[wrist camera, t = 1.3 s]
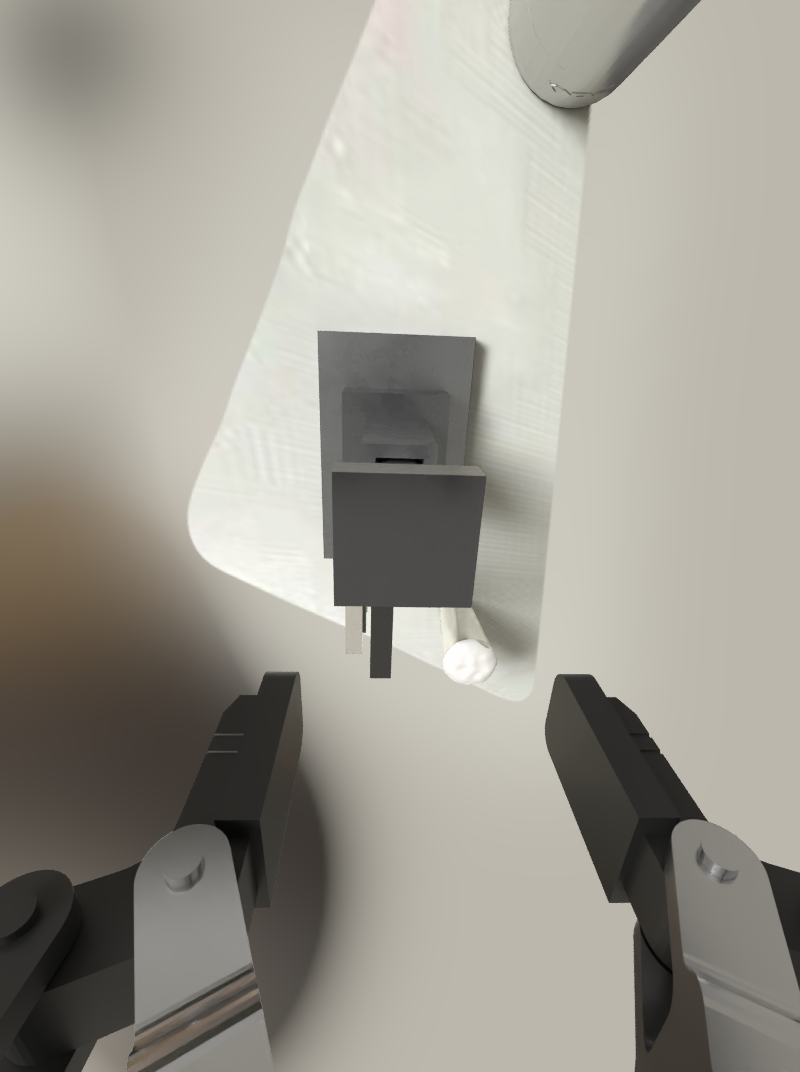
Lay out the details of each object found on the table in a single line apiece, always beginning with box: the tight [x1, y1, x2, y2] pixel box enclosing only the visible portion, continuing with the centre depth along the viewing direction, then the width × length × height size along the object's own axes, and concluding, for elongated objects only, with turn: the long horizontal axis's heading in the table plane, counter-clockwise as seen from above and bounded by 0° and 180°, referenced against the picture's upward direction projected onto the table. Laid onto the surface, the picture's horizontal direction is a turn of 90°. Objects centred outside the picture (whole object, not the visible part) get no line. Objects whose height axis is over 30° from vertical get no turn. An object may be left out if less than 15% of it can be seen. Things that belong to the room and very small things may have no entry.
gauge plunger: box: [332, 458, 486, 678], centre depth 25 cm, size 10×6×12 cm, turn 178°
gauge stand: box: [318, 331, 476, 654], centre depth 33 cm, size 19×12×16 cm, turn 178°
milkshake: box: [440, 607, 497, 685], centre depth 42 cm, size 4×5×10 cm
